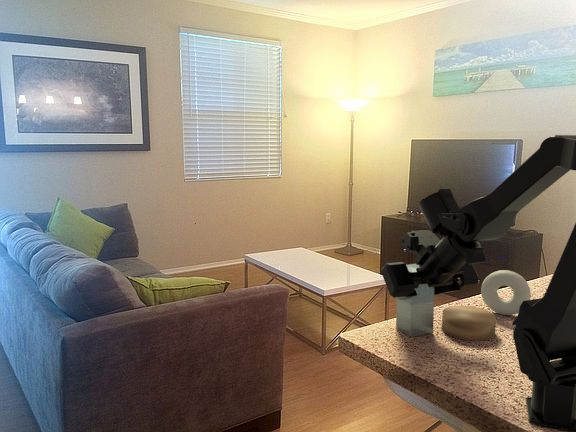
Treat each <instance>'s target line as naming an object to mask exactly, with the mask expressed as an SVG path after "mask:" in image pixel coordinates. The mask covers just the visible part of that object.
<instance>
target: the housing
mask: <svg viewBox="0 0 576 432" xmlns="http://www.w3.org/2000/svg"><path fill="white" fill-rule="evenodd" d="M406 266H407V268H408V270H409V273H412V272H417V271H416V268H419V265H416V263H410V264H406ZM415 290H416V293H417V296H414V297H410V298H407V299H403V300H399V299H398V297H396V299H395V300H396V310H395V311H396V313H395V314H396V317H395V321H396V322H395V323H396V324H395V329H397V330H398V331H400V332H402V333H404V334H405V335H407V336H409V337H410V338H413V337H419V336H423V335H424V336H425V335H430V334H433V333H434V321H435V320H434V316H435V314H434V312H435V295H434V287H428V284H426V285H419V287H418V288H417V289H415Z"/></svg>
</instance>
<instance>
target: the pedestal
mask: <svg viewBox="0 0 576 432" xmlns="http://www.w3.org/2000/svg"><path fill="white" fill-rule="evenodd" d="M496 316H497V315H496V314H494V313H493V312H492V311H491V310H490V311H489V310H487V309H483V308H481V307H476V306H471V305H451V306H447V307H445V308H443V310H442V318H441V319H442V320H441V321H442V322H441V331H442V332H444V333H445V334H446V335H448V336H451V337H453V338H455V339H456V338H457V339H460V340H465V341H470V342H471V341H473V342H482V341H483V342H484V341H489V340H491V339H492V340H493V339H494V338H495V336H496V325H497V324H496V323H497V317H496Z"/></svg>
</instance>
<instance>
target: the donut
mask: <svg viewBox="0 0 576 432" xmlns="http://www.w3.org/2000/svg"><path fill="white" fill-rule="evenodd" d="M502 286H503V287H504V286H506V287H509V288H511V289H512V291H513V295H512V297H511V298H509V299H504V298H502V297H501V296H499V294H498V289H499V288H500V287H502ZM480 292H481V297H482V300H483V302H484V304H485V305H486V306H487V307H488V308H489V309H490V311H493V312H494V313H496V314H500V315H502V316H512V315H518V313H519V308H520V305H521V304H522V302H523V301H526V300H531V297H532V294H531V288H530V286H529V284H528V282H527V280H525V278H524V277H523V276H522V275H520V274H519V273H517V272H514V271H512V270H508V269H507V270H506V269H505V270H504V269H503V270H497V271H494V272H492V273H490V274H489V275H487V276H486V277H485V279H484V280H483V282H482V283H481V288H480Z"/></svg>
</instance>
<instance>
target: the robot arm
mask: <svg viewBox="0 0 576 432" xmlns="http://www.w3.org/2000/svg"><path fill="white" fill-rule="evenodd" d="M570 171H576V134H555V135H550V136H549V137H547V138H545V139H544V140H543V141H542V142H541V144H540V146H539V148H538V149H537V150H536V151H535V152H534V153H532V155H530V156H529V157H528V158H527V159H526V160H525V161H523V163H522V164H520V165H519V166H518V167H517V168H516V169H514V171H513V172H512V173H510V175H508V176H507V177H506V178H505V179H504V180H503V181H502V182H501V183H499V185H498V186H496V187H495V188H494V189H493V190H492V191H490V192H489V193H488V194H486V195H484V196H482V197H479V198H475V199H473V200H471V201H469V202H468V203H466V204H465V205H463V206H461V207H459V204H458V203H457V201H456V199H455V197H454V195H453V192H452V190H451V188H449V187H446V188H445V187H444V188H439V189H438V191H436V192H434V193H431V194H429V195H428V196H426V197H424V198H422V199H421V200H420V202H419V204H418V206H419V209H420V211H421V213H422V214H423V215H422V216H423V217H424V220H425V221H426V223H427V225H428V227H429V229H430V230H429V229H422V230H421V229H419V230H411V231H409V232H406V234H404V235H403V237H402V239H401V246H402V247H403V248H404V249H405V250H406V251H407V252H412V253H413V254H414V255H415V257H414V259H413V260H414V264H416V265H419V268H416V271H417V272H412V273H409V270H408V268H407V266H406V265H407V263H406V262H403V261H397V262H386V263H385V264H384V265H383V267H382V268H381V270H380V273H381V275H382V278H383V280H384V283H385V285H386V288H387V290H388V293H389V295H390V297H393V299H395V298H396V299H397V297H398V299H399V300H403V299H407V298H410V297H414V296H417V293H416V290H415V289H417V288H418V287H419V285H426V284H428V287H434V296H438V295H442V294H443V295H444V294H447V293H453V292H457V291H460V290H469V289H474V288H475V287H477V285H478V284H479V282H480V281H479V279H480V277H479V275H478V273H477V270H476V269H475V266H474V264H483V263H486V261H487V256H486V254H485V248H484V247H483V246H481V244H480V242H483V241H484V242H485V241H493V240H500V239H501V238H503V237H504V236H505V235H506V233H507V232H508V231H509V230H510V229H511V228H512V227H513V226H514V224H515V220H516V216H517V215H518V213H519V212H520V211H521V210H522V209H524V208H525V207H526V206H527V205H528V204H530V203H531V202H533V201H534V200H535V199H536V198H537V197H538V196H540V195H541V194H542V193H543V192H545V191H547V189H548V188H550V187H551V186H552V185H554V184H555V183H556V182H557V181H559V179H562V177H563V176H565V175H566V174H567V173H568V172H570ZM437 234H438V235H440V236H443V237H442V238H441V239H440V238H439V237H438V236H437ZM558 260H559V261H558V262H557V265H556V267H555V269H554V271H553V274H552V277H551V278H550V281H549V283H548V285H547V288H546V290H545V292H544V295H543V296H542V297H541V298H534V299H530V300H526V301H523V302H522V304H521V305H520V308H519V313H517V315H516V317H515V319H514V320H513V321H512V322H511V324H512V326H515V327H514V328H513V332H512V339H513V341H514V345H515V352H516V355H517V362H518V366H519V371H520V373H521V374H524V375H525V376H527V378H528V381H531V382H532V386H531V387H532V389H531V396H526V398H525V403H526V409H527V410H526V411H527V416H528V417H527V418H528V422H530V423H531V424H533V425H539V426H544V427H548V428H554V429H558V430H564V431H568V432H576V222H574V225H573V228H572V230H571V232H570V235H569V236H568V239H567V242H566V243H565V246H564V248H563V250H562V253H561V255H560V258H559V259H558ZM460 281H461V283H460ZM459 283H460V284H459Z"/></svg>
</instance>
